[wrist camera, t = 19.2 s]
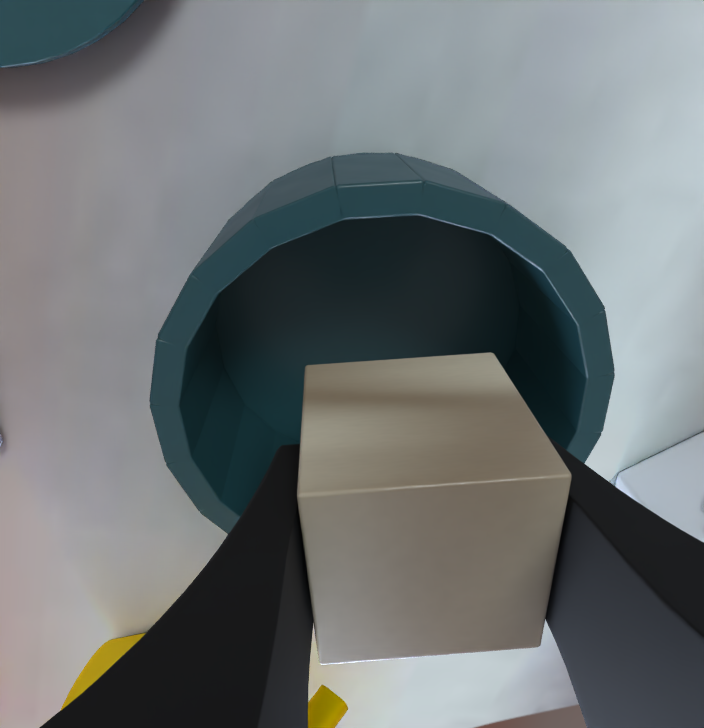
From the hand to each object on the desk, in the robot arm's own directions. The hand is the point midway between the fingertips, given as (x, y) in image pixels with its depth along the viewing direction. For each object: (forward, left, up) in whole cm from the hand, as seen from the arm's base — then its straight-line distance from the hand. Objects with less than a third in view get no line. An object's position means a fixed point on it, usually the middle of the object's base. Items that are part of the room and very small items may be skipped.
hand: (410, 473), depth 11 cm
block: (0, 0, -1) cm, 1 cm away
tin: (0, -1, -9) cm, 9 cm away
